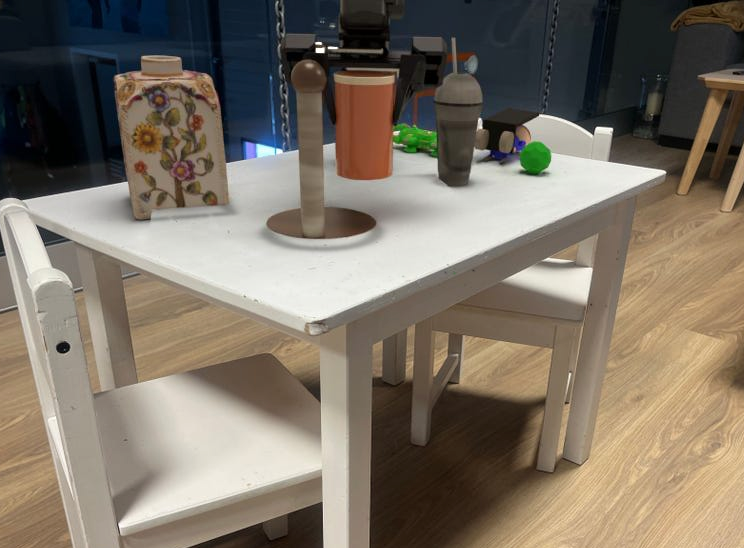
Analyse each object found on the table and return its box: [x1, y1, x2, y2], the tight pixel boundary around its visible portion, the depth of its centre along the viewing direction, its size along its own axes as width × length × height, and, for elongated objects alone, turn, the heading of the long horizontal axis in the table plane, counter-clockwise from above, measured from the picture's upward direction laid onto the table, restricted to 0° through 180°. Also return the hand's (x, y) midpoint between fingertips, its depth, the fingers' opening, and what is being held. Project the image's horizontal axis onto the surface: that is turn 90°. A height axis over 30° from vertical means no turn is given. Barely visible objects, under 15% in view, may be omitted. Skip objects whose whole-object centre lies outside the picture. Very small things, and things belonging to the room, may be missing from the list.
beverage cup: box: [432, 37, 484, 187], centre depth 105 cm, size 7×7×20 cm
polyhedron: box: [518, 140, 552, 175], centre depth 115 cm, size 5×5×5 cm
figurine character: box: [474, 107, 540, 164], centre depth 125 cm, size 7×8×15 cm
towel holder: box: [265, 60, 377, 240], centre depth 81 cm, size 13×13×19 cm
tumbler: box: [333, 70, 396, 181], centre depth 82 cm, size 7×7×11 cm
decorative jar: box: [113, 55, 230, 221], centre depth 90 cm, size 12×12×18 cm
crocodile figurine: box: [393, 122, 437, 158], centre depth 128 cm, size 7×18×4 cm, turn 56°
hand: (364, 123), depth 81 cm, fingers closed on tumbler, 7 cm apart
